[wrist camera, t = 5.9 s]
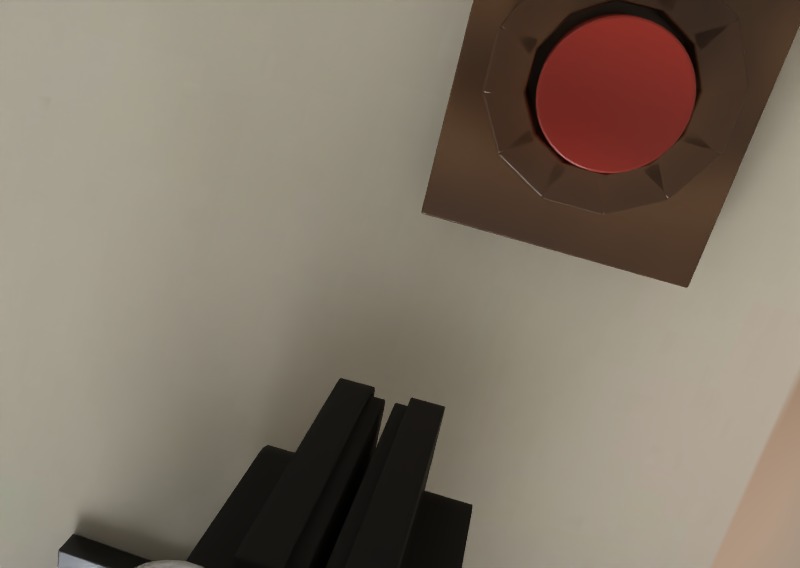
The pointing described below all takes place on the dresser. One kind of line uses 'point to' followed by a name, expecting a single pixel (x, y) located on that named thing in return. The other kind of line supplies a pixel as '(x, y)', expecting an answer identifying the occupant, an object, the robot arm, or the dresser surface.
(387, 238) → the dresser surface
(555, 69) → the red button
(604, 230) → the button block
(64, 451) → the dresser surface
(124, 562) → the lever bracket
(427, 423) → the robot arm
